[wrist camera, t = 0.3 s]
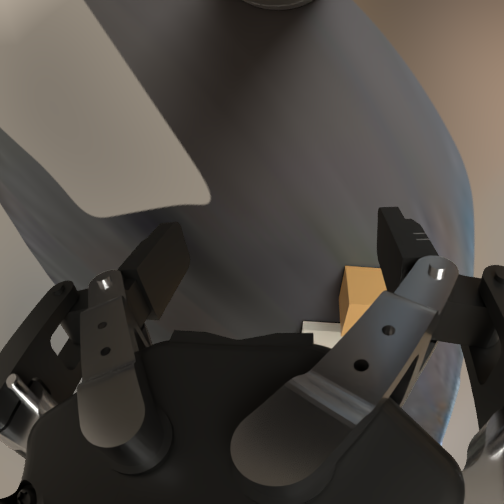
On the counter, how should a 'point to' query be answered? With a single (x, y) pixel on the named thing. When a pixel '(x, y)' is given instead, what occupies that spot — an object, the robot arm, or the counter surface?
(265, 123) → the counter surface
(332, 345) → the base
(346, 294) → the light orange block
